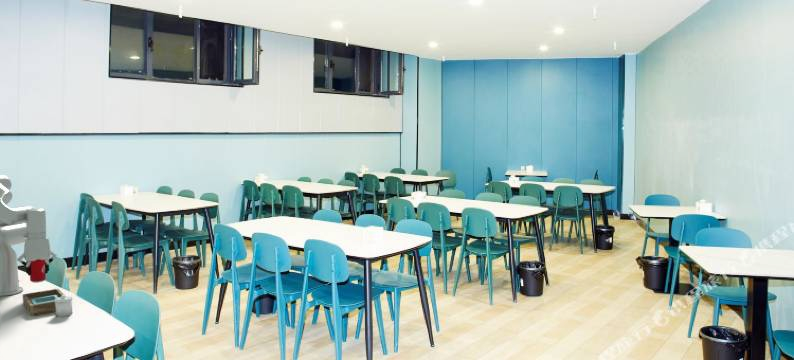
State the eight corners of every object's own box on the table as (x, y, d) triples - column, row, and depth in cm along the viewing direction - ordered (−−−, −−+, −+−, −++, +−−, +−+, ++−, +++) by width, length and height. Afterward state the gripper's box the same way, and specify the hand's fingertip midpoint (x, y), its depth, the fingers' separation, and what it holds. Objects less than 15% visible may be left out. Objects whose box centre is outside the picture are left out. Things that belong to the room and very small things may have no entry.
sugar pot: (57, 312, 250) (56, 293, 249) (75, 311, 252) (73, 292, 251) (53, 317, 244) (51, 298, 243) (71, 316, 245) (69, 296, 245)
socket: (30, 304, 259) (30, 299, 259) (56, 300, 265) (56, 294, 265) (34, 310, 251) (33, 304, 251) (60, 305, 258) (60, 299, 257)
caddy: (23, 304, 263) (22, 294, 262) (59, 298, 271) (58, 288, 271) (31, 316, 246) (30, 305, 245) (69, 309, 254) (68, 299, 254)
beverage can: (48, 279, 277) (48, 254, 275) (39, 283, 271) (39, 257, 269) (36, 278, 277) (35, 253, 276) (26, 282, 271) (26, 257, 270)
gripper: (15, 239, 263) (16, 278, 265) (59, 235, 274) (60, 273, 276) (13, 235, 269) (14, 274, 271) (56, 232, 280) (57, 269, 282)
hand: (37, 273), depth 274 cm, fingers closed on beverage can, 6 cm apart
